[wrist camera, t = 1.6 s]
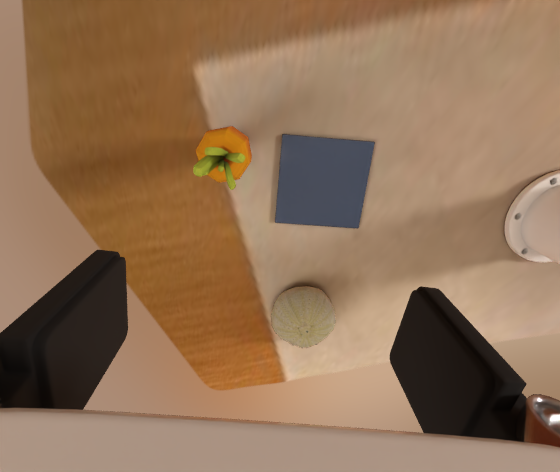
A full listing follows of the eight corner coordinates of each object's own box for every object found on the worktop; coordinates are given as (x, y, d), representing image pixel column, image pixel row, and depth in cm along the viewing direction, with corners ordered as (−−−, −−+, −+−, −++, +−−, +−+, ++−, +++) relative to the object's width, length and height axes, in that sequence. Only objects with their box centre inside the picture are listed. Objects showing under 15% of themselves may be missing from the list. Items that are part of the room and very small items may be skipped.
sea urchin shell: (334, 279, 43) (343, 341, 40) (328, 292, 51) (336, 345, 47) (266, 286, 43) (271, 348, 40) (271, 298, 51) (275, 351, 48)
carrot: (259, 126, 37) (253, 139, 24) (251, 168, 39) (241, 203, 25) (217, 116, 37) (185, 124, 23) (211, 159, 39) (177, 190, 25)
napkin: (373, 141, 38) (374, 142, 38) (357, 227, 43) (358, 228, 42) (282, 134, 38) (282, 134, 37) (275, 221, 42) (275, 222, 42)
